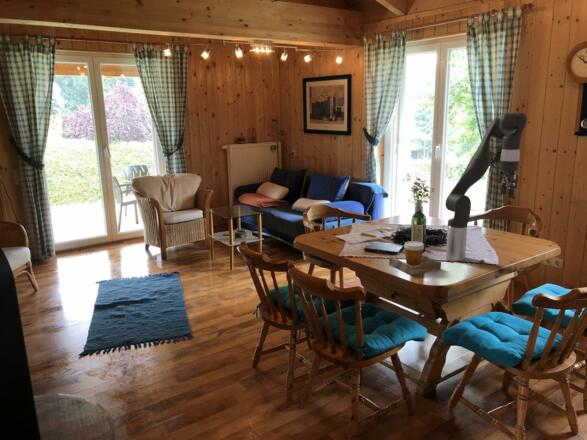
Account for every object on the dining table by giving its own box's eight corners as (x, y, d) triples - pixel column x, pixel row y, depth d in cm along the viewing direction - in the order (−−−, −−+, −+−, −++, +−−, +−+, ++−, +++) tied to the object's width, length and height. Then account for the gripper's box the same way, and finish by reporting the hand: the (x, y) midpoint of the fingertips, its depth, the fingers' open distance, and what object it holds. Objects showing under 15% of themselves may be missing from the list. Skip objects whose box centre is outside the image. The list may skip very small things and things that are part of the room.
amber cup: (426, 266, 227) (427, 242, 224) (419, 271, 220) (420, 247, 217) (407, 262, 233) (408, 239, 230) (400, 268, 225) (400, 244, 222)
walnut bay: (389, 264, 230) (389, 257, 229) (416, 259, 237) (416, 252, 236) (411, 275, 215) (412, 267, 214) (440, 269, 222) (441, 261, 221)
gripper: (525, 161, 197) (522, 198, 201) (512, 157, 211) (509, 192, 215) (507, 161, 198) (504, 199, 201) (495, 157, 211) (492, 193, 215)
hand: (506, 195), depth 208 cm, fingers open, 8 cm apart
